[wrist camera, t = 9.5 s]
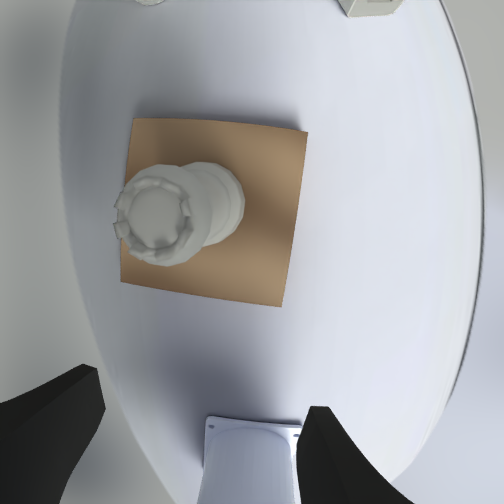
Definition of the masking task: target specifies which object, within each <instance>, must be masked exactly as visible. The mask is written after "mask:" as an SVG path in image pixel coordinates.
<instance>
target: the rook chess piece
mask: <svg viewBox="0 0 504 504" xmlns="http://www.w3.org/2000/svg"><path fill="white" fill-rule="evenodd" d="M244 206H245V197H244V194H243V190H242V186H241V184H240V182H239V181H238V180H237V179H236V177H235V176H234V175H233V173H232V172H231V171H230V170H228V169H226V168H224V167H222V166H220V165H219V164H217V163H209V162H194V163H191V164H188V165H185V166H182V167H178V166H175V165H161V164H157V165H154V166H152V167H149V168H146V169H144V170H141V171H139V172H138V173H137V174H136V175H135V176H134V177H133V178H132V179H131V180H130V181H129V182H128V183H127V184H126V185H125V188H124V190H123V192H120V194H119V196H118V199H117V201H116V203H115V206H114V207H115V208H118V213H117V222H116V223H113V225H114V229H115V232H116V235H117V239H119V238H122V239H123V240H124V242H125V243H126V244H127V246H128V247H129V248H130V249H129V250H128V253H129V254H131V255H133V256H134V257H136V258H137V259H139V260H142V259H143V260H144V261H146V262H147V263H149V264H154V265H160V266H167V267H168V266H172V265H176V264H180V263H183V262H186V261H187V260H189V259H190V258H191V257H192V256H194V255H195V254H196V253H197V252H199V251H200V250H201V248H202V247H205V246H209V245H212V244H216V243H219V242H221V241H222V240H224V239H225V238H226V237H228V236H229V235H230V234H232V233H233V232H234V231H235V230H236V228H237V226H238V225H239V223H240V221H241V220H242V218H243V214H244Z"/></svg>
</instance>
